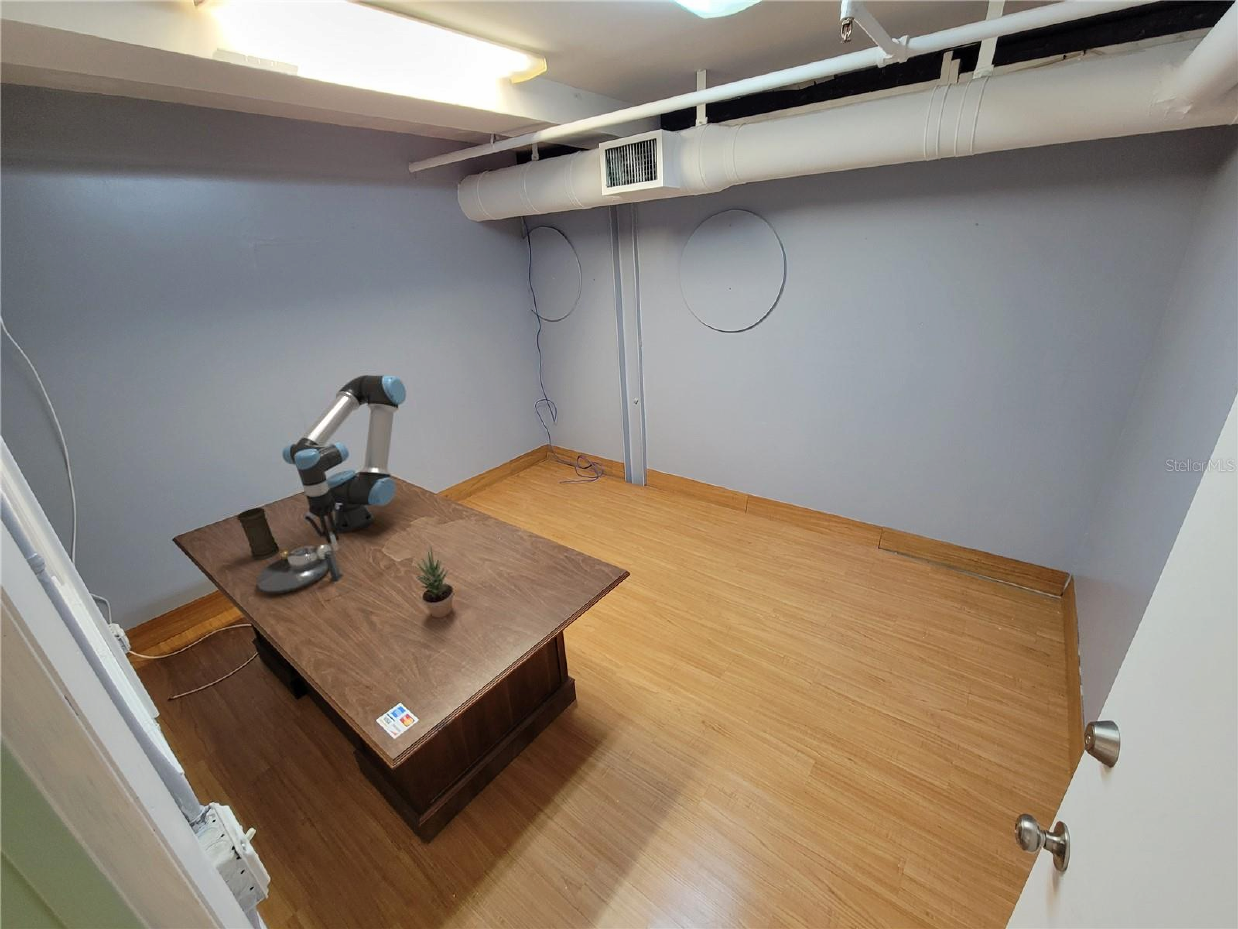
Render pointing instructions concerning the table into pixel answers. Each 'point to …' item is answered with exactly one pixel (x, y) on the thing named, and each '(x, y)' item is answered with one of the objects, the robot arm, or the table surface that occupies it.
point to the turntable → (288, 576)
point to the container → (258, 533)
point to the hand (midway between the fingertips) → (335, 548)
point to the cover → (303, 558)
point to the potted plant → (436, 588)
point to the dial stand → (329, 561)
